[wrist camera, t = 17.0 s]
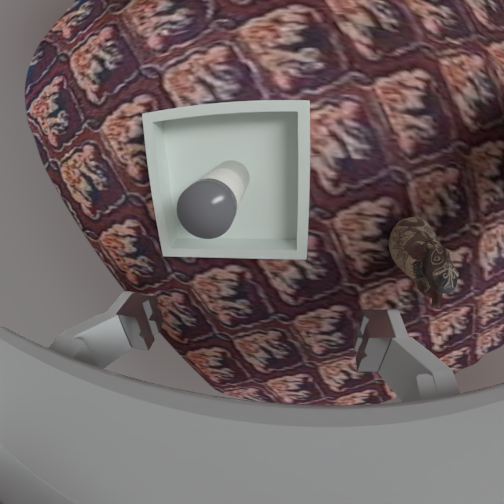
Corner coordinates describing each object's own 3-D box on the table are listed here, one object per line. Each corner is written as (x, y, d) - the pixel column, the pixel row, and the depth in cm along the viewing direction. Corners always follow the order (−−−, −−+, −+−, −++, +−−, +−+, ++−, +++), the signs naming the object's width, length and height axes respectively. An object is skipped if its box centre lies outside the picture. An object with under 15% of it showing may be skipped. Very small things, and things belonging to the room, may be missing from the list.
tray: (306, 102, 28) (309, 100, 24) (304, 244, 36) (306, 259, 33) (157, 112, 30) (142, 113, 27) (173, 242, 39) (163, 256, 35)
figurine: (439, 227, 33) (483, 273, 22) (415, 268, 36) (448, 322, 26) (402, 208, 32) (444, 252, 22) (378, 253, 36) (406, 308, 25)
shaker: (250, 157, 31) (231, 182, 21) (252, 197, 33) (235, 239, 23) (209, 159, 32) (173, 184, 21) (213, 197, 34) (180, 238, 24)
